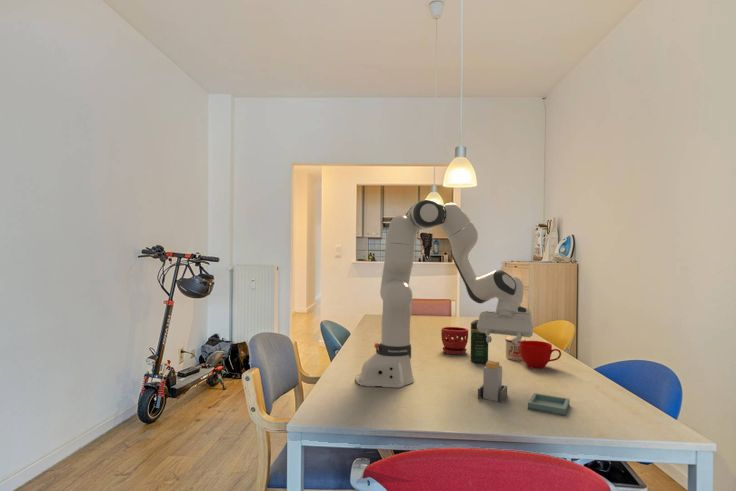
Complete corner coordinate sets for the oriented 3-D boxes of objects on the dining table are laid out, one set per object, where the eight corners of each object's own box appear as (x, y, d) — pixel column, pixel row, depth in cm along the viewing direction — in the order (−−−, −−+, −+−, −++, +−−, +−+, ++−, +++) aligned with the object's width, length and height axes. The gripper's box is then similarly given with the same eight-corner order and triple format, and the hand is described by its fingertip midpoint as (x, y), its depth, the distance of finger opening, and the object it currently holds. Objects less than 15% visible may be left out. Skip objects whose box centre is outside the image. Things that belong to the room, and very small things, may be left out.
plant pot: (471, 355, 210) (471, 330, 210) (443, 355, 210) (443, 330, 210) (465, 349, 223) (465, 326, 223) (439, 349, 223) (439, 325, 223)
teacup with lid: (506, 360, 202) (506, 334, 202) (504, 355, 211) (504, 331, 211) (534, 361, 200) (534, 335, 200) (530, 356, 208) (530, 332, 209)
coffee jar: (488, 364, 194) (488, 322, 194) (470, 363, 196) (470, 321, 196) (488, 359, 204) (488, 319, 204) (470, 357, 206) (470, 318, 206)
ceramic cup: (557, 374, 179) (557, 349, 179) (515, 367, 189) (515, 344, 189) (564, 367, 189) (564, 344, 189) (525, 361, 200) (525, 339, 200)
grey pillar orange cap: (483, 398, 149) (483, 363, 150) (487, 394, 154) (487, 360, 154) (498, 401, 147) (498, 365, 147) (501, 396, 151) (501, 361, 151)
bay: (477, 398, 149) (477, 388, 149) (484, 392, 156) (484, 382, 156) (501, 403, 145) (501, 392, 145) (507, 396, 152) (507, 386, 152)
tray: (527, 409, 139) (527, 402, 139) (534, 399, 149) (534, 392, 149) (565, 416, 134) (565, 409, 134) (569, 405, 143) (569, 398, 143)
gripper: (479, 305, 173) (471, 334, 164) (533, 309, 162) (528, 340, 154) (482, 315, 176) (475, 344, 168) (536, 320, 166) (531, 351, 158)
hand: (501, 342), depth 161 cm, fingers open, 8 cm apart
